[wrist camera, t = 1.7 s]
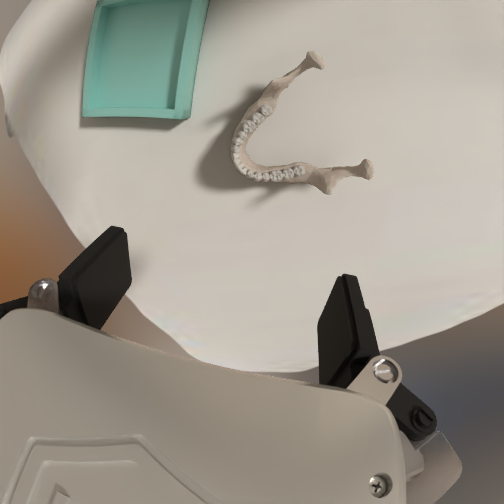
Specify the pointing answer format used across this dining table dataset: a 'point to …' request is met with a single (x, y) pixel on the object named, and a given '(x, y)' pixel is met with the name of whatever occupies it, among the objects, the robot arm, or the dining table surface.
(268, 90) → the anatomical model
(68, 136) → the dining table surface
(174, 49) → the tray
